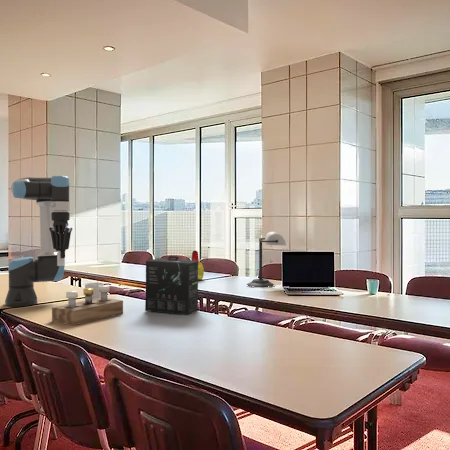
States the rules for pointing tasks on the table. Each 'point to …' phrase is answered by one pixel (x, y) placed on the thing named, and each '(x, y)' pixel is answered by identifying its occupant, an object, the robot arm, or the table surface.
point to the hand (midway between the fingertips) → (61, 265)
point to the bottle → (200, 266)
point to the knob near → (71, 298)
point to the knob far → (104, 293)
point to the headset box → (171, 286)
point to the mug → (95, 289)
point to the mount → (87, 311)
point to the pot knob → (88, 295)
